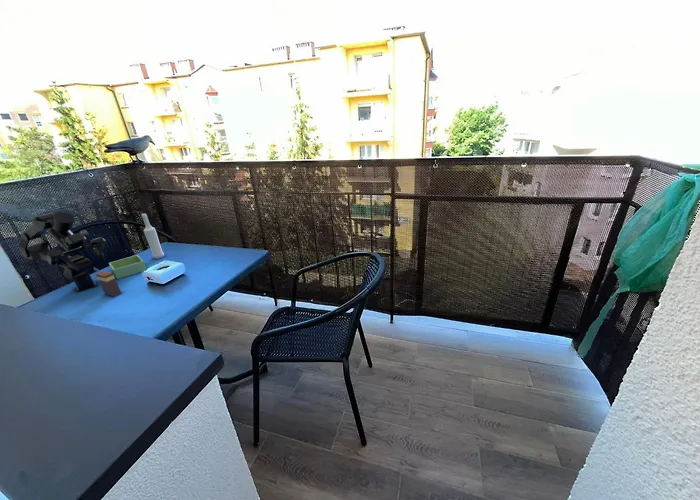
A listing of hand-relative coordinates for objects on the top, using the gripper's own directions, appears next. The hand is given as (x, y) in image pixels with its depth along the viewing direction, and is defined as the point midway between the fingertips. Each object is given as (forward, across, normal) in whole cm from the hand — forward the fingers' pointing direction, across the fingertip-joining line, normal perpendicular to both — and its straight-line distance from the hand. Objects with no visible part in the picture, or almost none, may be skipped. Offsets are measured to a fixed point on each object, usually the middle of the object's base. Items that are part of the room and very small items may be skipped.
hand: (92, 265), depth 114 cm
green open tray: (+2, +17, +17) cm, 24 cm away
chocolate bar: (+13, 0, +6) cm, 14 cm away
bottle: (+1, +33, +18) cm, 38 cm away
